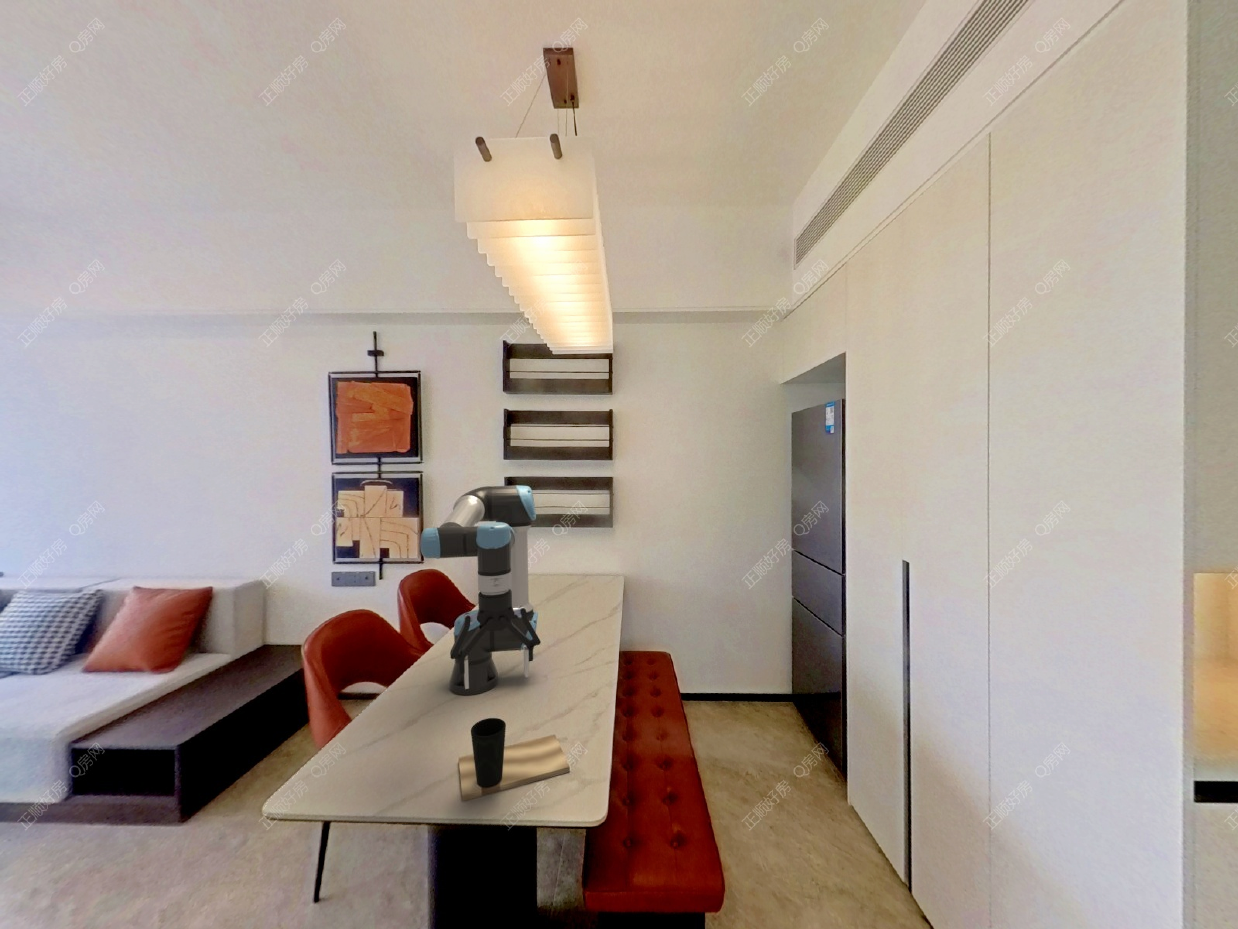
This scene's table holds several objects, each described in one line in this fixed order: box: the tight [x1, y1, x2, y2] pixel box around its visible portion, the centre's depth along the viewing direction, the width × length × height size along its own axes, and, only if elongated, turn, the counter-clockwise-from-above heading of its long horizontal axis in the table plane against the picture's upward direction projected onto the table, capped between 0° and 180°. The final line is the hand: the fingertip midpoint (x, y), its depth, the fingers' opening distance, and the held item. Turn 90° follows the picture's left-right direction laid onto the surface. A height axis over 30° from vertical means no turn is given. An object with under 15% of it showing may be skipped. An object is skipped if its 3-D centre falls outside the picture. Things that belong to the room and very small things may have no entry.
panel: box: [458, 733, 571, 802], centre depth 113 cm, size 14×24×1 cm, turn 112°
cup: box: [470, 717, 507, 788], centre depth 107 cm, size 8×8×12 cm
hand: (497, 680), depth 110 cm, fingers open, 13 cm apart
